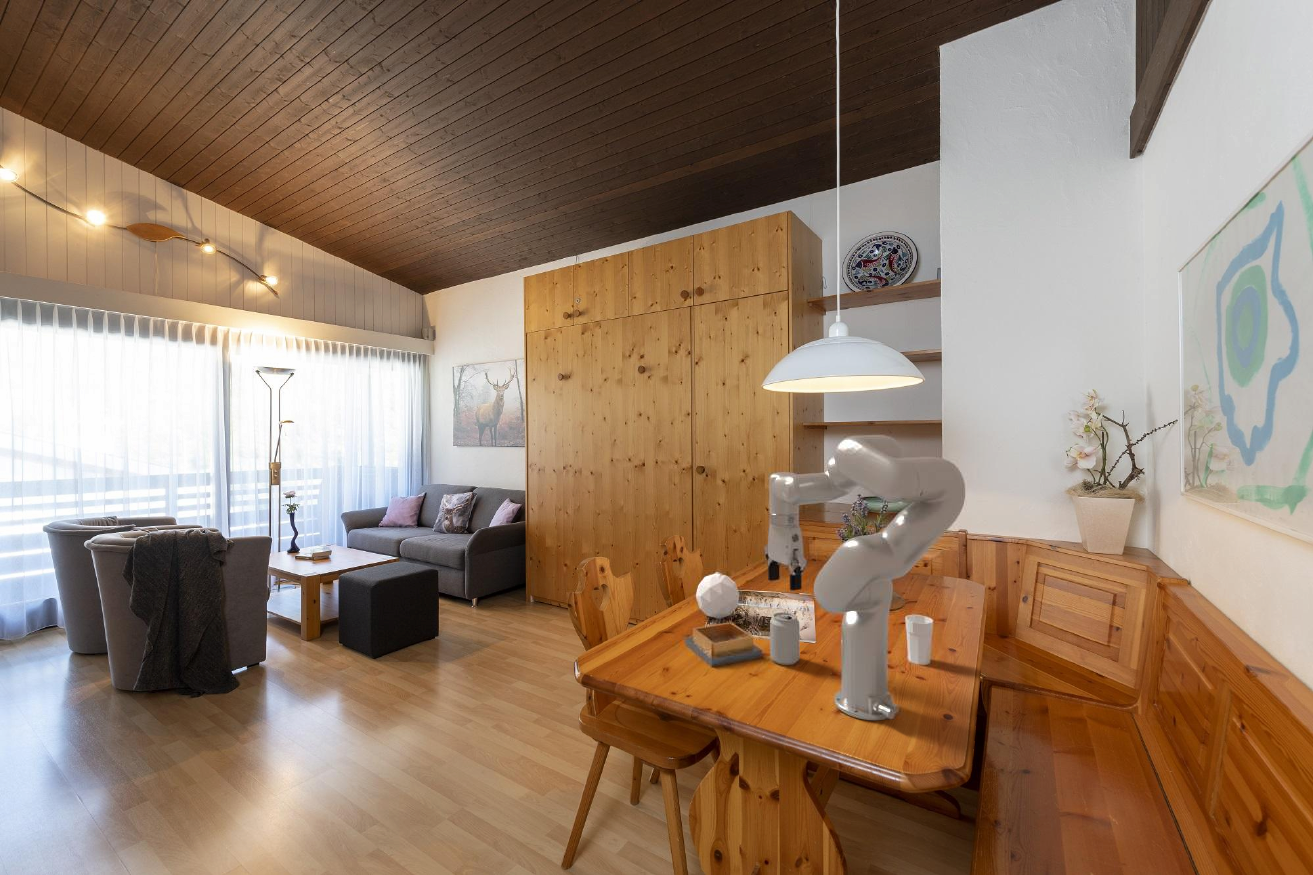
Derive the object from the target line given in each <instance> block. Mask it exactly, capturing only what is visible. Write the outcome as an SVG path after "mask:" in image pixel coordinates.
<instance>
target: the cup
mask: <svg viewBox="0 0 1313 875" xmlns="http://www.w3.org/2000/svg"><path fill="white" fill-rule="evenodd" d="M904 617H905V621H904V622H905V630H906V642H907V643H906V644H907V645H906V646H907V647H906V648H907V660H908V661H909V662H910V663H912V664H915V665H919V666H924V665H925V666H926V665H929V664H930V663H931V654H932V653H931V651H932V650H931V649H932V634H933V631H934V630H933V629H934V619H933V618H931V617H929V616H925V615H921V614H909V615H906V616H904Z"/></svg>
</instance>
